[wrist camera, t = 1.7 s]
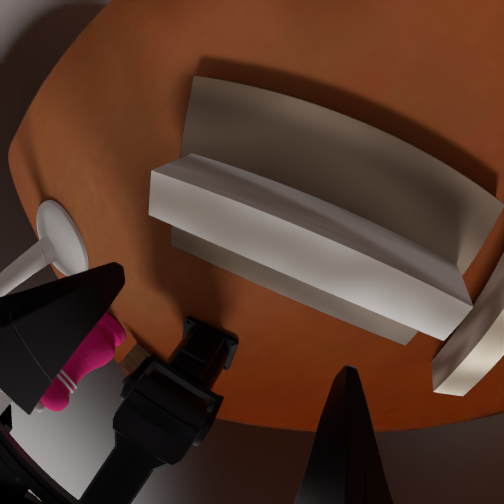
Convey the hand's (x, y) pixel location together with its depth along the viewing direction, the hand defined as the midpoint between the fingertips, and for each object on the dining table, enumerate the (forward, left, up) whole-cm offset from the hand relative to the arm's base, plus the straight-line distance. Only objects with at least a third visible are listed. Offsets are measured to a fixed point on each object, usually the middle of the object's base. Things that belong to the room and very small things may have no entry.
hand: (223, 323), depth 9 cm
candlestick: (-17, +30, -12) cm, 37 cm away
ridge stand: (0, -2, -12) cm, 12 cm away
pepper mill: (-30, +21, -12) cm, 39 cm away
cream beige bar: (0, -19, -12) cm, 23 cm away
